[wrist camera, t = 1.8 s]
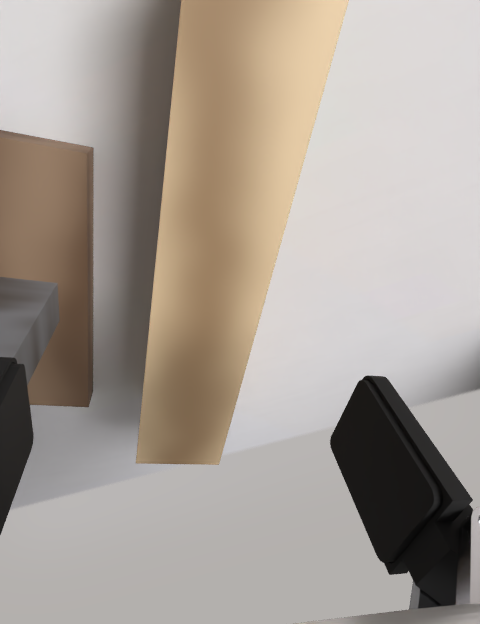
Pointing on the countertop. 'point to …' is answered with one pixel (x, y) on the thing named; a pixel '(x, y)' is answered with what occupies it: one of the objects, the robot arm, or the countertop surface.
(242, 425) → the countertop surface
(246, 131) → the oak beam
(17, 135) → the walnut stand
